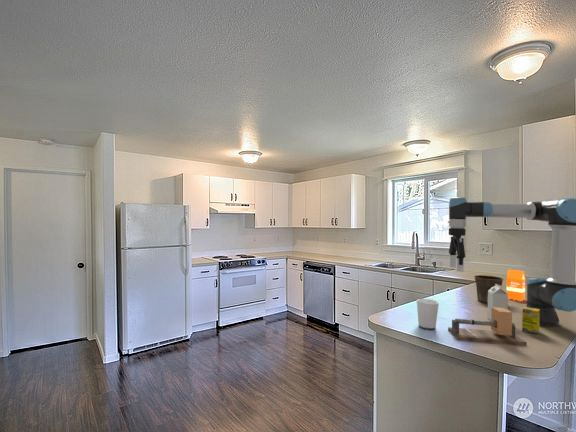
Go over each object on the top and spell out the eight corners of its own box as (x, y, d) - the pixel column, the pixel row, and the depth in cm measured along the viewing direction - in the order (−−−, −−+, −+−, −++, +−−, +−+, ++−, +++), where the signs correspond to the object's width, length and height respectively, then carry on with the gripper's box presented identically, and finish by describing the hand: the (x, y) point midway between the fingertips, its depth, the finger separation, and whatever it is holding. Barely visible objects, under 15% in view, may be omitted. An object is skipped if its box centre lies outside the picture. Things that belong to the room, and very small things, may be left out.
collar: (502, 329, 140) (503, 307, 140) (511, 335, 133) (512, 312, 133) (491, 328, 141) (491, 307, 141) (499, 334, 134) (499, 311, 134)
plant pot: (475, 303, 199) (476, 278, 199) (471, 297, 214) (472, 274, 214) (505, 306, 192) (506, 280, 193) (499, 300, 207) (500, 276, 207)
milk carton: (502, 319, 165) (503, 284, 165) (507, 323, 158) (508, 286, 159) (487, 318, 167) (488, 283, 167) (492, 322, 160) (492, 285, 161)
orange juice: (509, 297, 217) (510, 269, 218) (525, 300, 211) (525, 270, 211) (506, 298, 212) (506, 269, 213) (521, 301, 206) (522, 271, 206)
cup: (425, 331, 143) (426, 304, 143) (411, 324, 152) (412, 299, 153) (443, 330, 146) (443, 303, 146) (428, 323, 155) (428, 298, 155)
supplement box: (521, 331, 148) (522, 308, 148) (524, 328, 152) (524, 306, 152) (537, 334, 143) (538, 311, 144) (539, 331, 148) (539, 309, 148)
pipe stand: (510, 335, 142) (510, 318, 142) (526, 345, 130) (526, 327, 130) (448, 330, 146) (448, 314, 146) (458, 340, 134) (458, 322, 134)
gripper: (443, 227, 170) (442, 265, 169) (455, 228, 146) (454, 272, 145) (458, 227, 168) (457, 266, 168) (473, 228, 144) (472, 273, 143)
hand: (456, 269), depth 156 cm, fingers open, 13 cm apart
